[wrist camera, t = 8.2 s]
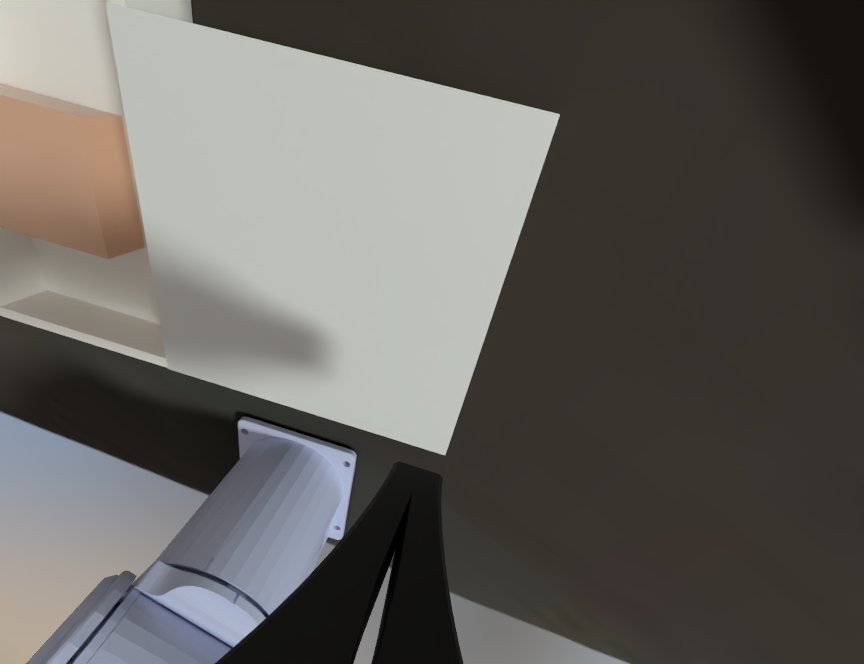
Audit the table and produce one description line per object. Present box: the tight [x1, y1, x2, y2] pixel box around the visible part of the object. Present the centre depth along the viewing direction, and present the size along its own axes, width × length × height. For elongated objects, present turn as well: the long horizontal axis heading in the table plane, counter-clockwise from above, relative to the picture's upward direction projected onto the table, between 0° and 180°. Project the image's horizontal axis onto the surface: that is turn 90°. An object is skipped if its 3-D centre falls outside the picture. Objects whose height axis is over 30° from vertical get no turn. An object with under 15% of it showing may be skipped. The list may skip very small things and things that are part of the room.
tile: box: [0, 83, 144, 259], centre depth 17 cm, size 6×6×2 cm
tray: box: [0, 0, 193, 368], centre depth 18 cm, size 16×11×3 cm
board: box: [105, 2, 560, 455], centre depth 16 cm, size 14×14×4 cm
